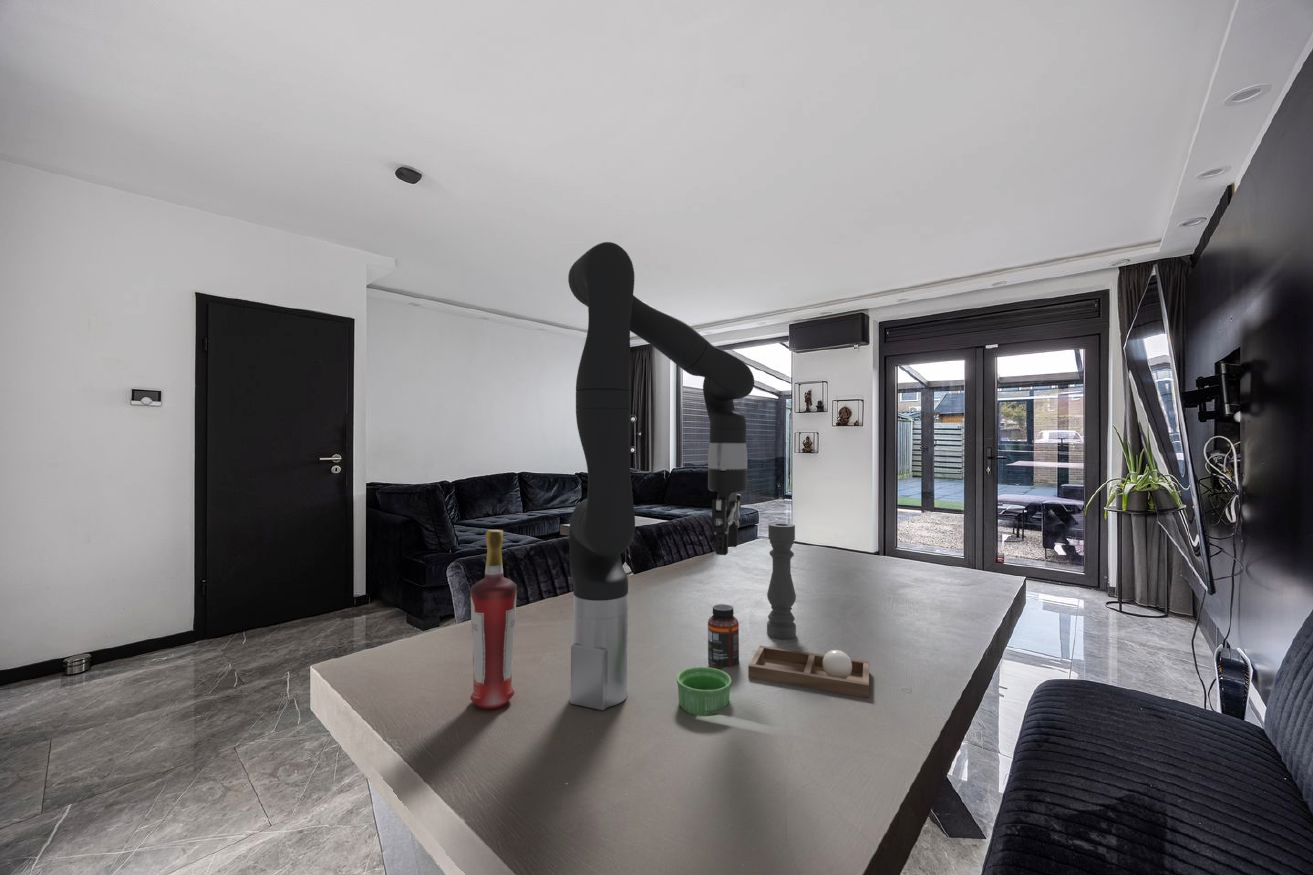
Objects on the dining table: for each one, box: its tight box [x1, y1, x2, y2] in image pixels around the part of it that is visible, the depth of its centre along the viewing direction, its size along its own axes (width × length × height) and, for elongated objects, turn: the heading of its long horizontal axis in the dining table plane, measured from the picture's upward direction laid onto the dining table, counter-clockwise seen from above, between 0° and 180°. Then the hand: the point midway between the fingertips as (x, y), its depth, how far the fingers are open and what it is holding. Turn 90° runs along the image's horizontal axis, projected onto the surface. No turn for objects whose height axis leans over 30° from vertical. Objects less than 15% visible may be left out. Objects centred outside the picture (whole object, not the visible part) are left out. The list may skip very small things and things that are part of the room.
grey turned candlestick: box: [766, 522, 797, 641], centre depth 117 cm, size 6×6×25 cm
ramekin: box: [676, 666, 733, 717], centre depth 87 cm, size 9×9×4 cm
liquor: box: [469, 529, 518, 711], centre depth 87 cm, size 7×7×28 cm
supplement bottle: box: [707, 603, 740, 671], centre depth 102 cm, size 6×6×11 cm
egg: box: [822, 649, 852, 679], centre depth 94 cm, size 5×5×5 cm
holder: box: [747, 645, 870, 699], centre depth 96 cm, size 10×20×3 cm, turn 68°
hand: (727, 550), depth 103 cm, fingers open, 8 cm apart
